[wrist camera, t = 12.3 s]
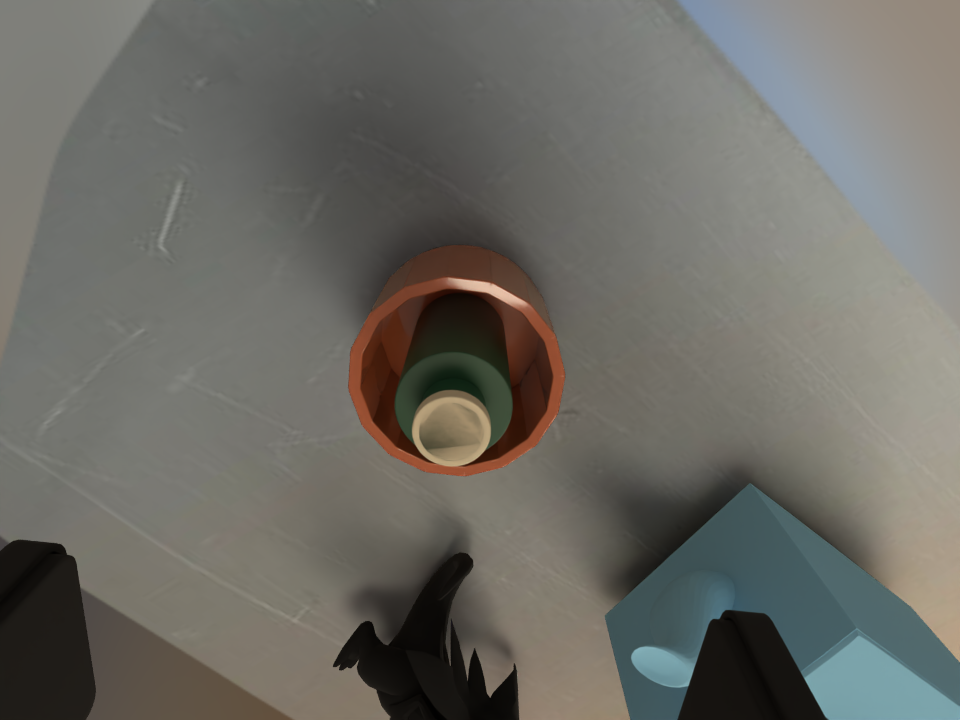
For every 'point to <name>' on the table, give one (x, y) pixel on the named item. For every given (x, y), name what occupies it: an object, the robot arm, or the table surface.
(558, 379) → the cup
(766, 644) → the robot arm
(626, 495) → the table surface
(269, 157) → the table surface
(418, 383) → the bottle
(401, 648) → the figurine
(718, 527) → the teapot
